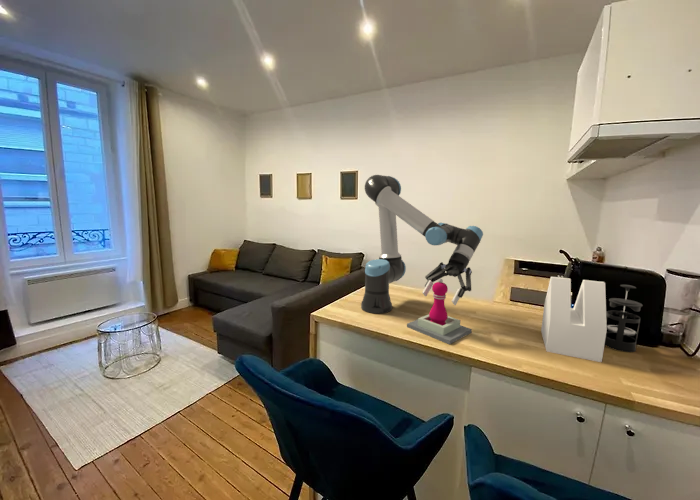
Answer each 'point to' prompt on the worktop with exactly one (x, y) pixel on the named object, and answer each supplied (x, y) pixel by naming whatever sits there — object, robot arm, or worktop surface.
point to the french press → (622, 324)
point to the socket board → (440, 329)
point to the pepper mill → (439, 303)
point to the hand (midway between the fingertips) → (438, 298)
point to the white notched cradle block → (575, 319)
